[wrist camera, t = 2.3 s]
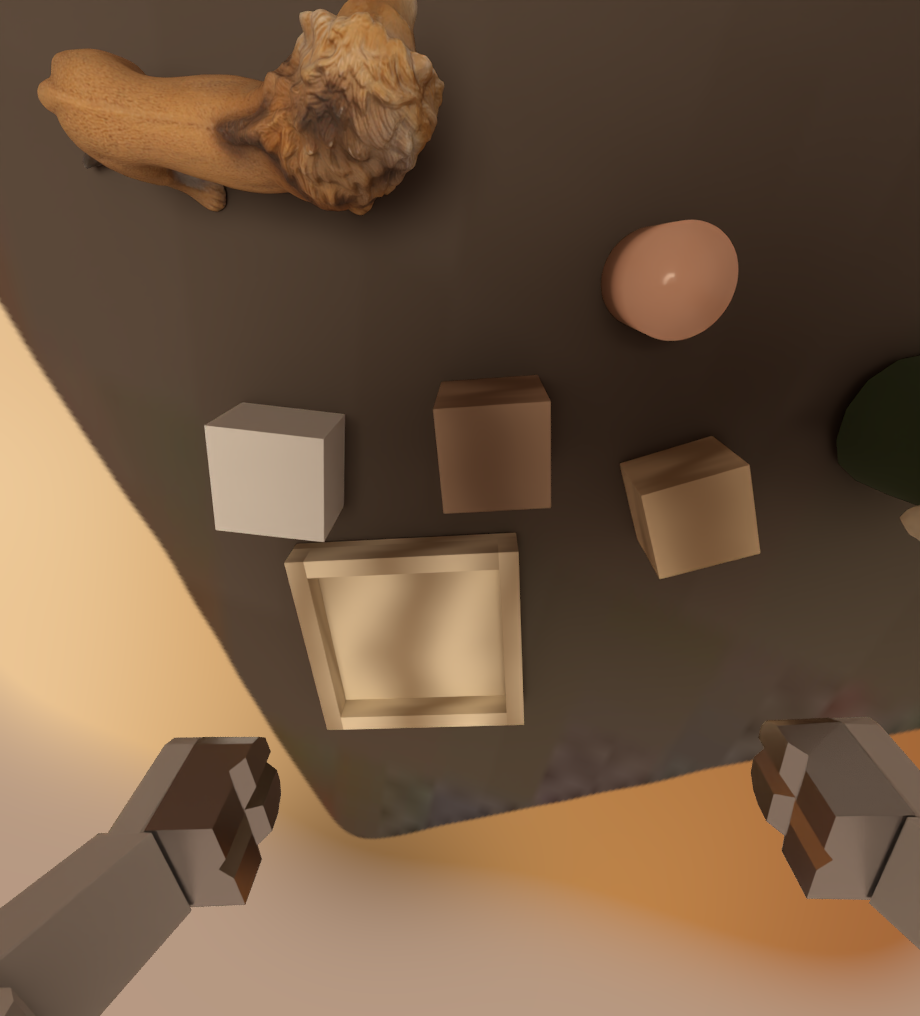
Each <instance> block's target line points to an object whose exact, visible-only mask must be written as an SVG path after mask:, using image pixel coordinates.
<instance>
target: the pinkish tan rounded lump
mask: <svg viewBox="0 0 920 1016" xmlns="http://www.w3.org/2000/svg"><path fill="white" fill-rule="evenodd" d="M737 280H738V260H737V255H736V252H735V249H734V246H733V245H732V243H731V241H730V239H729V238H728V237H727V235H726V234H725V233H724V232H723V231H722V230H720V229H719V228H718V227H716V226H714V225H712V224H710V223H708V222H704V221H700V220H682V221H676V222H671V223H665V224H659V225H653V226H648V227H644V228H640V229H638V230H635V231H633V232H632V233H630V234H628V235H627V236H625V237H624V238H623V239H622V240H621V241H620V242H619V243H618V244H617V245H616V246H615V247H614V248H613V250H612V251H611V253H610V254H609V256H608V258H607V260H606V262H605V265H604V268H603V272H602V277H601V292H602V297H603V300H604V303H605V305H606V307H607V309H608V310H609V312H610V313H611V314H612V316H613V317H615V318H616V319H617V320H618V321H620V322H621V323H623V324H625V325H627V326H629V327H632V328H634V329H636V330H638V331H640V332H642V333H644V334H646V335H648V336H651V337H653V338H656V339H659V340H665V341H677V340H683V339H687V338H690V337H693V336H695V335H697V334H699V333H701V332H703V331H704V330H706V329H707V328H708V327H710V326H711V325H712V324H713V323H714V322H716V320H717V319H718V318H719V317H720V316H721V315H722V314H723V312H724V311H725V310H726V308H727V306H728V305H729V303H730V301H731V299H732V297H733V295H734V292H735V289H736V285H737Z"/></svg>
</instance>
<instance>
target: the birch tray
mask: <svg viewBox="0 0 920 1016" xmlns="http://www.w3.org/2000/svg"><path fill="white" fill-rule="evenodd" d="M284 564H285V568H286V572H287V576H288V579H289V583H290V587H291V591H292V595H293V599H294V603H295V607H296V610H297V614H298V618H299V622H300V626H301V630H302V634H303V637H304V641H305V645H306V649H307V653H308V657H309V661H310V664H311V668H312V672H313V676H314V680H315V684H316V688H317V691H318V695H319V699H320V703H321V707H322V711H323V715H324V718H325V722H326V726H327V730H344V729H382V728H419V727H457V726H495V725H524V710H523V678H522V647H521V615H520V584H519V552H518V544H517V536H516V533H499V534H479V535H459V536H439V537H419V538H399V539H379V540H359V541H339V542H319V543H299V544H296V545H295V547H294V548H293V550H292V551H291V553H290V555H289V556H288V558H287V559H286V561H285V562H284Z"/></svg>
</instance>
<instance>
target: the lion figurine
mask: <svg viewBox="0 0 920 1016" xmlns="http://www.w3.org/2000/svg"><path fill="white" fill-rule="evenodd" d="M417 10H418V8H417V1H416V0H348V1H347V2H346V3H345V4H344V5H343V7H342V8H341V10H340V12H339V13H338V15H337V16H336V15H334V14H332V13H330V12H328V11H326V10H323V9H319V10H315V11H314V12H311V11H305V12H301V13H300V16H299V19H300V23H301V26H302V29H303V33H302V34H301V35H300V36H299V37H298V39H297V42H296V45H295V48H294V50H293V53H292V54H291V55H290V56H289V57H288V58H287V60H286V61H284V62H283V63H282V64H281V65H280V67H279V68H278V69H276V70H275V71H272V72H268V73H267V75H266V77H265V81H264V82H262V81H259V80H254V79H250V78H245V77H240V76H235V75H194V76H184V77H171V78H159V77H151V76H147V75H145V73H144V72H143V71H142V70H141V69H140V68H139V67H138V66H137V65H135V64H134V63H132V62H131V61H129V60H126V59H124V58H122V57H119V56H116V55H114V54H111V53H108V52H105V51H101V50H97V49H76V50H66V51H63V52H59V53H57V54H56V55H55V56H54V57H53V59H52V63H51V76H50V77H49V78H48V79H46V80H44V81H43V82H42V83H40V84H39V86H38V91H37V92H38V97H39V99H40V101H41V103H42V104H43V106H45V107H46V108H47V109H48V110H49V111H51V112H53V113H54V114H56V115H57V117H58V120H59V122H60V124H61V126H62V127H63V129H64V130H65V132H66V133H67V135H68V136H69V137H70V138H71V139H72V141H73V142H74V143H75V144H76V145H77V146H78V147H79V148H80V149H81V150H83V151H84V152H85V155H84V157H83V163H84V166H85V168H91V167H94V166H101V165H102V164H103V165H104V166H106V167H108V168H110V169H112V170H114V171H116V172H118V173H121V174H123V175H125V176H127V177H130V178H134V179H137V180H139V181H143V182H147V183H152V184H156V185H164V186H169V187H172V188H174V189H177V190H179V191H182V192H184V193H186V194H188V195H189V196H191V197H192V198H194V199H195V200H196V201H198V202H199V203H200V204H202V205H203V206H204V207H206V208H207V209H209V210H212V211H220V210H221V209H223V208H224V207H225V205H226V192H225V188H224V186H227V187H230V188H233V189H238V190H242V191H248V192H254V193H270V194H271V193H286V192H290V193H291V194H293V195H294V196H296V197H298V198H300V199H302V200H304V201H308V202H311V203H312V204H314V205H315V206H317V207H319V208H321V209H324V210H329V211H343V210H348V209H349V210H350V211H351V212H353V213H354V214H357V215H364V214H366V213H367V212H368V211H369V210H370V209H371V208H372V205H373V203H374V201H375V200H376V198H377V197H382V196H383V195H384V194H385V195H388V194H389V193H390V192H392V191H393V190H394V189H395V187H396V185H398V184H400V182H401V181H402V180H403V178H404V176H405V174H406V172H408V171H410V170H411V169H413V167H414V166H415V164H416V161H417V156H418V154H419V153H420V151H422V150H423V148H424V147H425V145H426V142H428V141H430V140H431V136H432V134H433V132H434V130H435V126H436V125H437V114H438V108H439V106H440V105H441V103H442V92H443V89H444V82H443V81H441V80H440V79H439V78H438V76H437V73H436V72H435V70H434V69H433V67H432V63H431V61H430V60H429V59H428V57H427V56H425V55H421V54H418V53H417V52H416V49H415V40H414V34H413V27H414V23H415V20H416V16H417ZM223 185H224V186H223Z"/></svg>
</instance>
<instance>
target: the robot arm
mask: <svg viewBox="0 0 920 1016" xmlns="http://www.w3.org/2000/svg"><path fill="white" fill-rule="evenodd" d="M758 738H759V739H760V741H761V743H762V745H763V746H764V749H763V750H762V751H760V752H759V753H758V754H757V755H756V756H754V758H753V764H752V769H751V776H752V784H753V790H754V793H755V796H756V799H757V802H758V805H759V807H760V809H761V811H762V813H763V815H764V817H765V819H766V821H767V822H768V823H769V824H771V825H772V826H773V827H774V828H776V829H777V830H778V831H779V832H781V833H782V834H783V835H784V841H783V847H782V852H783V854H784V856H785V858H786V860H787V862H788V864H789V865H790V867H791V869H792V871H793V873H794V875H795V877H796V879H797V881H798V882H799V885H800V886H801V888H802V890H803V892H804V894H805V896H806V898H807V899H808V898H809V899H810V898H811V899H813V898H814V899H861V900H863V899H864V900H870V902H869V903H870V904H871V905H872V906H873V907H874V908H875V909H876V910H877V911H878V912H879V913H881V914H882V915H883V916H884V917H885V918H886V919H887V920H888V921H889V922H890V923H891V924H893V925H894V926H895V927H896V928H897V929H898V930H899V931H900V932H901V933H902V934H903V935H905V936H906V937H907V938H908V939H909V940H910V941H911V942H912V943H913V944H914V945H915V946H917V947H918V948H919V949H920V770H919V769H918V768H917V767H916V766H915V764H914V763H913V762H912V761H911V760H910V759H909V758H908V757H907V755H906V754H905V753H904V752H903V751H902V750H901V749H900V747H899V746H898V745H897V744H896V743H895V742H894V741H893V739H892V738H891V737H890V736H889V735H888V734H887V733H886V731H885V730H884V729H883V728H882V727H881V726H880V725H879V724H878V723H877V722H876V721H874V720H873V719H871V718H869V717H849V718H832V719H831V718H811V719H788V720H767V721H766V722H765V723H764V724H763V725H762V726H761V729H760V733H759V737H758ZM269 754H270V749H269V746H268V743H267V742H266V738H262V737H202V738H201V737H199V738H197V737H196V738H174V739H172V740H171V741H170V742H168V743H167V744H166V745H165V746H164V747H163V749H162V750H161V752H160V753H159V755H158V756H157V758H156V759H155V761H154V763H153V764H152V766H151V767H150V769H149V770H148V772H147V773H146V775H145V776H144V778H143V780H142V781H141V783H140V784H139V786H138V787H137V789H136V790H135V792H134V793H133V795H132V796H131V798H130V800H129V801H128V803H127V804H126V806H125V807H124V809H123V810H122V812H121V813H120V815H119V816H118V818H117V819H116V821H115V823H114V824H113V826H112V827H111V829H110V830H109V832H108V833H99V834H97V835H96V836H95V837H93V838H92V839H91V840H89V841H88V842H87V843H85V844H84V845H83V846H81V847H80V848H79V849H77V850H76V851H75V852H73V853H72V854H71V855H70V856H68V857H67V858H66V859H64V860H63V861H62V862H60V863H59V864H58V865H57V866H55V867H54V868H53V869H51V870H50V871H49V872H47V873H46V874H45V875H43V876H42V877H41V878H39V879H38V880H37V881H36V882H34V883H33V884H32V885H30V886H29V887H28V888H26V889H25V890H24V891H23V892H21V893H20V894H18V895H17V896H16V897H15V898H13V899H12V900H11V901H9V902H8V903H7V904H5V905H4V906H3V907H1V908H0V1016H100V1015H101V1014H102V1013H103V1011H104V1010H105V1009H106V1008H107V1007H108V1006H109V1005H110V1003H111V1002H112V1001H113V1000H114V999H115V998H116V997H117V995H118V994H119V993H120V992H121V991H122V990H123V989H124V987H125V986H126V985H127V984H128V983H129V982H130V981H131V979H132V978H133V977H134V976H135V975H136V974H137V973H138V971H139V970H140V969H141V968H142V967H143V966H144V965H145V963H146V962H147V961H148V960H149V959H150V958H151V957H152V955H153V954H154V953H155V952H156V951H157V950H158V948H159V947H160V946H161V945H162V944H163V943H164V942H165V940H166V939H167V938H168V937H169V936H170V934H172V932H173V931H174V930H175V929H176V928H177V927H178V926H179V924H180V923H181V922H182V921H183V920H184V919H185V917H186V916H187V915H188V914H189V913H190V912H191V908H190V907H204V906H226V905H245V904H246V901H247V899H248V896H249V893H250V890H251V888H252V885H253V882H254V879H255V877H256V874H257V871H258V868H259V866H260V863H261V860H262V858H261V855H260V851H259V848H258V844H259V843H260V842H261V841H262V840H263V839H264V838H265V837H266V836H267V835H268V834H269V833H270V832H271V831H272V829H273V826H274V824H275V821H276V818H277V815H278V810H279V802H280V796H281V789H280V779H279V776H278V773H277V770H276V769H275V768H274V767H272V766H271V765H270V764H268V763H267V759H268V757H269Z"/></svg>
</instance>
